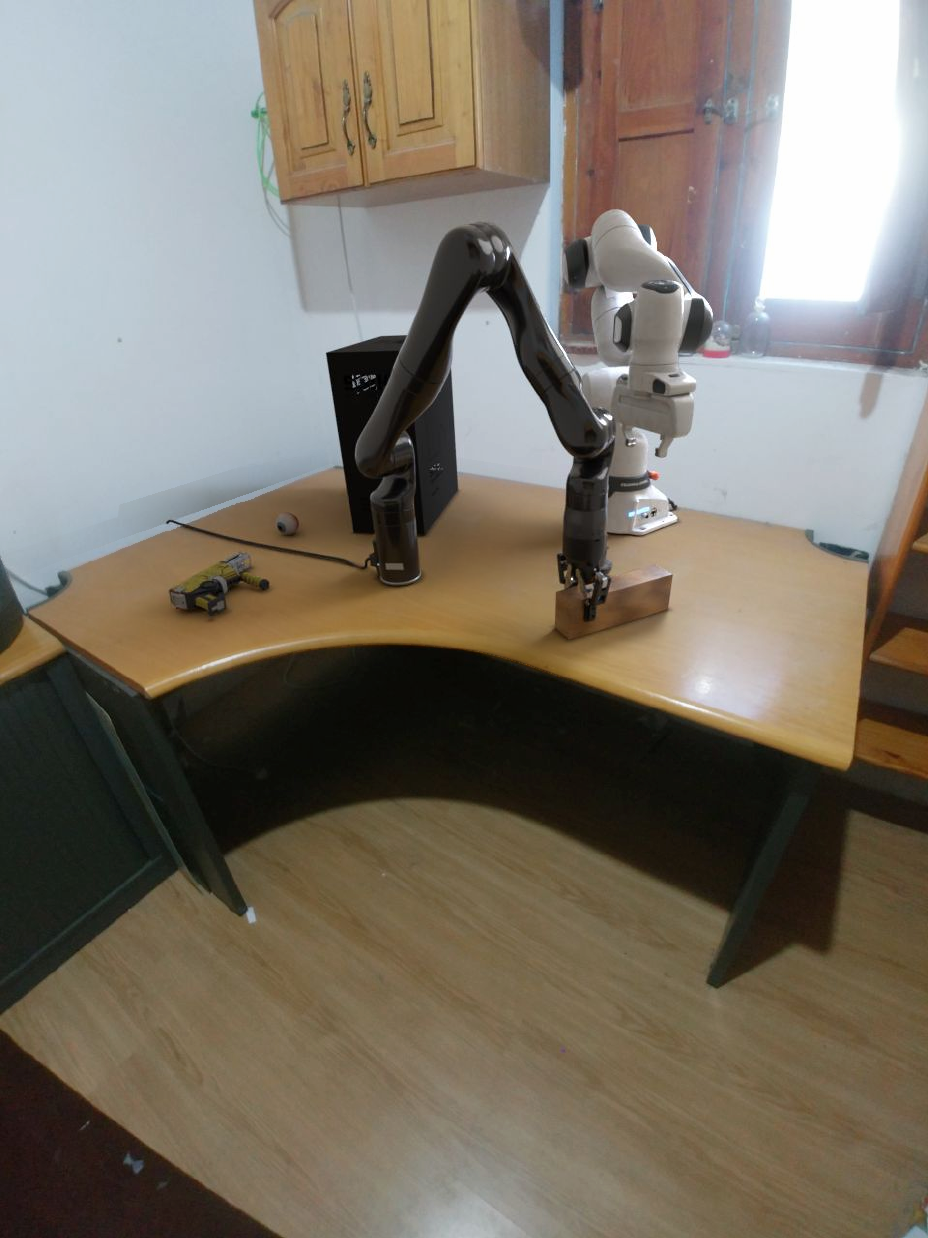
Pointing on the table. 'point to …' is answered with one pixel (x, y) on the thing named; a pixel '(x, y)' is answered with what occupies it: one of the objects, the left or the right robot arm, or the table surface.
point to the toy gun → (214, 585)
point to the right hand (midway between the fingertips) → (644, 451)
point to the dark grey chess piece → (605, 562)
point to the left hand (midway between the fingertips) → (580, 613)
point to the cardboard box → (426, 432)
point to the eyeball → (287, 523)
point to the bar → (615, 601)
